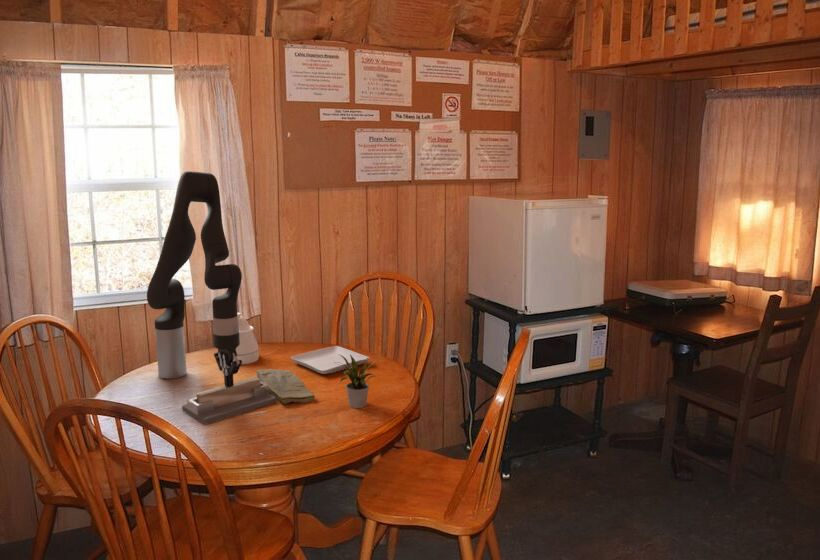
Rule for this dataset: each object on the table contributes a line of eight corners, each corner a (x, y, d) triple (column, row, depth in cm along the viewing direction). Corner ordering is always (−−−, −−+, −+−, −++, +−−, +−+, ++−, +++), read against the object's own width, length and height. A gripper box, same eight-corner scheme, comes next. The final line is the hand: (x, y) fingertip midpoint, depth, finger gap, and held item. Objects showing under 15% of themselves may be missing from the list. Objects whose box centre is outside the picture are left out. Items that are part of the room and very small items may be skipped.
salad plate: (289, 364, 242) (288, 355, 241) (336, 352, 256) (336, 344, 255) (322, 380, 226) (322, 370, 226) (371, 366, 240) (371, 357, 240)
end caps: (188, 409, 196) (187, 399, 195) (258, 389, 212) (258, 380, 212) (197, 415, 192) (197, 405, 191) (269, 394, 208) (268, 385, 208)
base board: (182, 410, 199) (181, 405, 199) (252, 390, 216) (252, 385, 215) (204, 424, 189) (204, 419, 189) (276, 402, 206) (276, 397, 205)
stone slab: (286, 364, 233) (317, 388, 207) (286, 375, 233) (317, 401, 208) (251, 369, 227) (278, 395, 201) (251, 381, 228) (279, 408, 202)
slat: (197, 409, 196) (196, 393, 195) (256, 392, 210) (255, 377, 209) (201, 411, 194) (200, 395, 193) (260, 394, 208) (259, 379, 207)
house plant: (320, 407, 202) (319, 355, 199) (348, 393, 214) (347, 344, 210) (358, 417, 195) (358, 364, 191) (385, 402, 206) (384, 351, 203)
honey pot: (254, 364, 240) (251, 316, 237) (218, 364, 241) (216, 316, 237) (262, 353, 253) (260, 308, 249) (228, 353, 253) (226, 307, 250)
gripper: (249, 333, 196) (251, 388, 199) (226, 324, 205) (229, 377, 208) (225, 338, 190) (229, 395, 194) (203, 329, 200) (207, 383, 203)
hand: (229, 385), depth 201 cm, fingers closed
